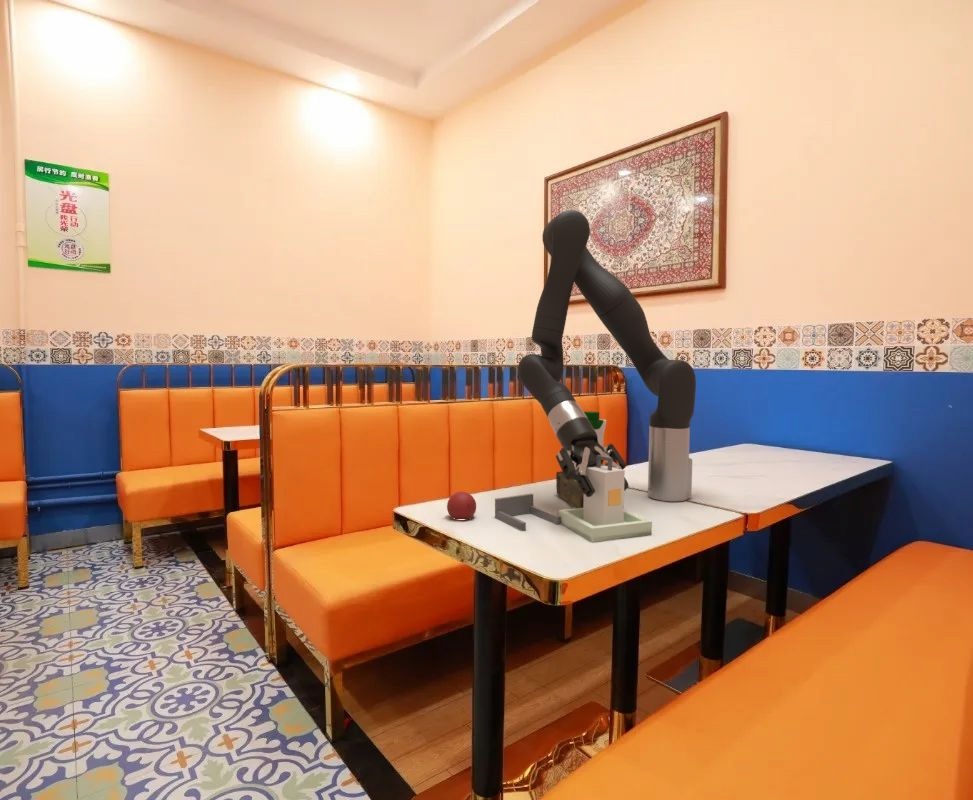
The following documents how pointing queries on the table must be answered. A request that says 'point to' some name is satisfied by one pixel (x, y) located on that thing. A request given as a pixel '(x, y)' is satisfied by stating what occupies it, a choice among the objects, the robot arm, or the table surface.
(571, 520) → the tray
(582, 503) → the beverage carton
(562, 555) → the table surface
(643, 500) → the table surface
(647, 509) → the table surface
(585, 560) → the table surface
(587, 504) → the white tall block
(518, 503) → the bay
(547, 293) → the robot arm
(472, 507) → the fruit
